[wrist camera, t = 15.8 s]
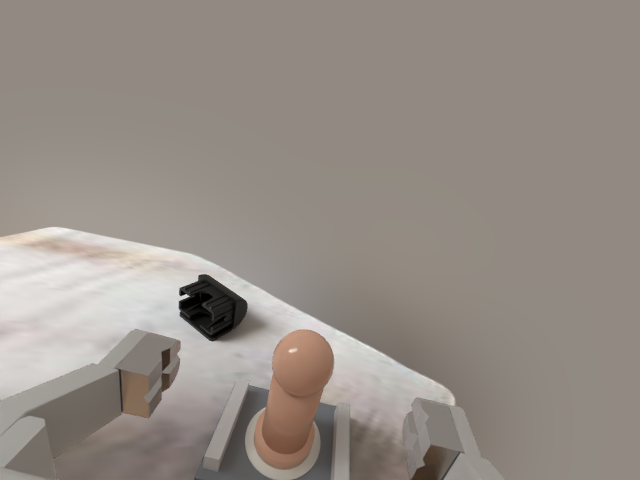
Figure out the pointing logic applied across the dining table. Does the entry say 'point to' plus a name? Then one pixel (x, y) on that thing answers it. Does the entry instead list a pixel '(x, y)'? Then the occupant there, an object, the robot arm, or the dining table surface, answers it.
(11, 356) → the dining table surface
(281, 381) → the ball-topped peg
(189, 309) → the end cap
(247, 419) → the display plinth
